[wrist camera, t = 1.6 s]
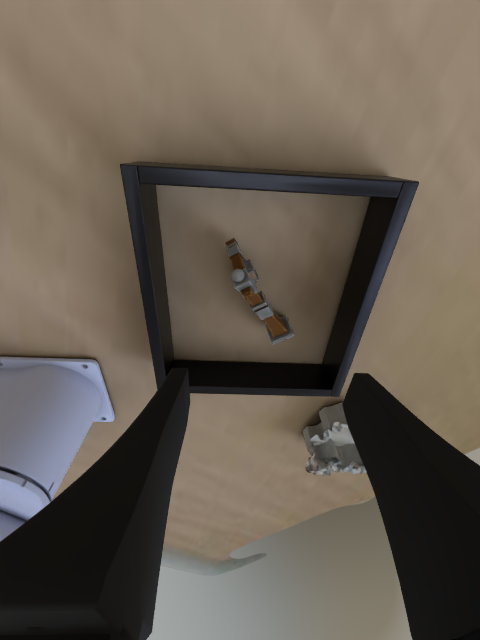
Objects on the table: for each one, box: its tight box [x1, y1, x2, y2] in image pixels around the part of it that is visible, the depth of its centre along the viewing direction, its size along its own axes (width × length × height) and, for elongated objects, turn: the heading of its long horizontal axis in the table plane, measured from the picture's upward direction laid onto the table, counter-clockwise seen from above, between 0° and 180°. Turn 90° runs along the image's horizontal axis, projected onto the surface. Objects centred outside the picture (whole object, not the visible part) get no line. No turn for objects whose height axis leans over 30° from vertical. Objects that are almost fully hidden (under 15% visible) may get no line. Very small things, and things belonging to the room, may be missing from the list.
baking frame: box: [120, 162, 419, 397], centre depth 18 cm, size 15×16×3 cm
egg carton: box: [303, 402, 367, 476], centre depth 27 cm, size 11×8×4 cm
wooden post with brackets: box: [226, 238, 295, 345], centre depth 18 cm, size 2×8×4 cm, turn 28°
